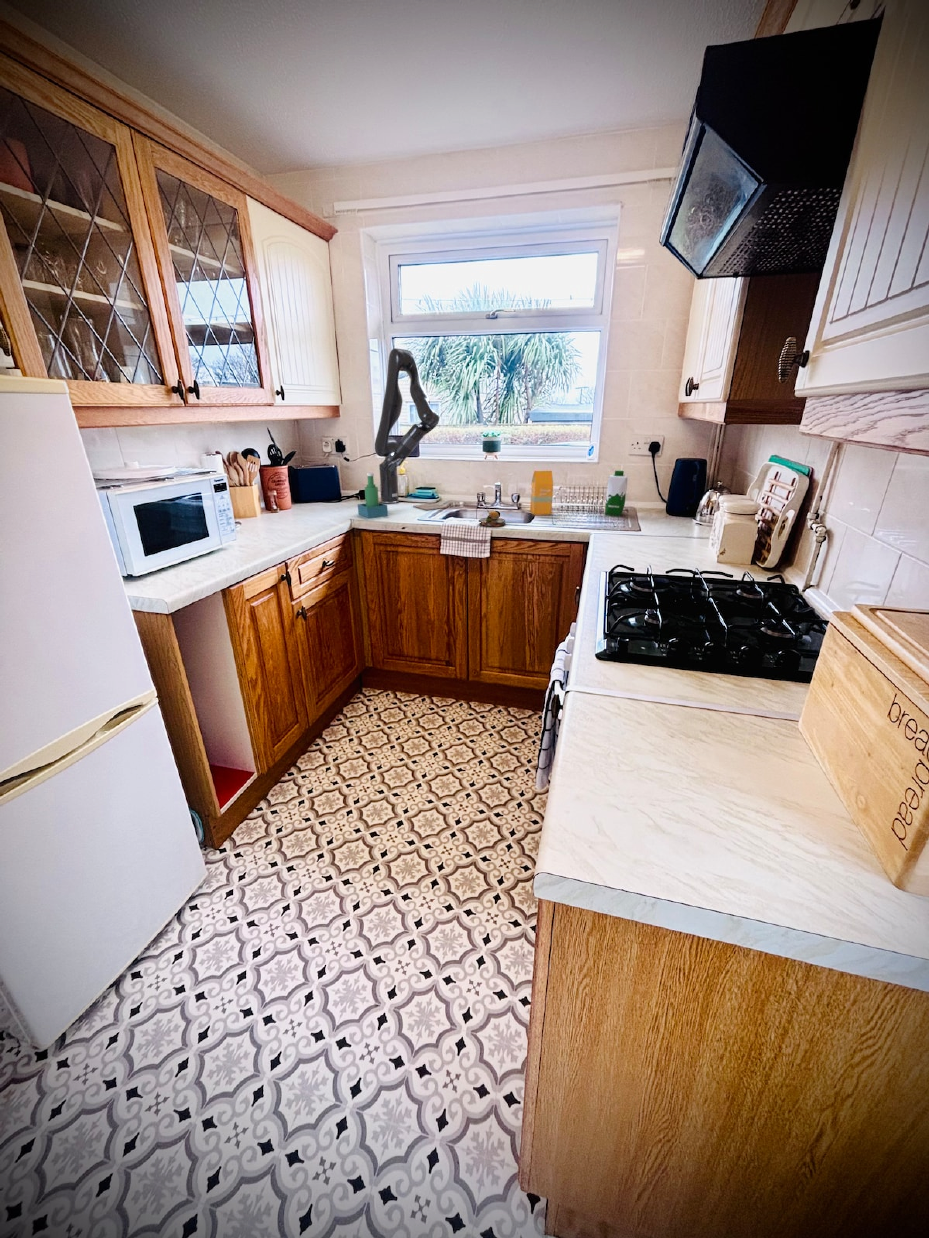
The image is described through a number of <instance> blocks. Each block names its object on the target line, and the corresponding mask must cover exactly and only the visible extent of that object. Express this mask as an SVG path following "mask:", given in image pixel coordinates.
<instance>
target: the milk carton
mask: <svg viewBox="0 0 929 1238" xmlns="http://www.w3.org/2000/svg"><path fill="white" fill-rule="evenodd" d="M624 473H625V471H624V470H615V471H614V474H610V475H609V476H608V480H607V488H606V497H605V516H616V517H621V516H622V515H623V512H624V508H625V504H626V496H627V490H628V478H629V477H628V475H626V474H624Z"/></svg>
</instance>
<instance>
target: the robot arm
mask: <svg viewBox="0 0 929 1238" xmlns="http://www.w3.org/2000/svg"><path fill="white" fill-rule="evenodd" d="M388 355H389V356H388V360H387V376H386V383H385V391H384V396H383V402H382V410H381V416H380V420H379V426H378V430H377V433H376V437H375V440H374V452H375V454H376V455H377V456H378V457H383V458H384V460H383V461H381V462H380V463H379V465H378V469H379V489H380V503H381V504H386V505H388V504H390V505H391V504H398V503H399V483H398V467H400V466H401V465H402V464H403V463H404V461H405V460H406V459H407V458H408V457H409V456H410V455H411V454H412V453H413V451H414V450H415V449H416V448H417V446H418V445H419V443H420V442H421V441H422V440H423V438H424V437H425V436H426V435H427V434H429V433H430V432H431V431H433V430H434V429H435V428H436V427H437V425H438V424H439V422H440V416H439V413H438V412H436V411H435V410H433V409H432V408H431V405H430V403H431V400H430V398H429V396H428V393H427V392H426V390H425V387H424V385H423V382H422V380H421V376H420V371H419V370H418V366H417V363H416V359H415V355H414V354H413V352H412V351H411V350H408V349H405V348H392V349H391V350H390V352H389V354H388ZM400 372H406V374H407V376H408V377H409V393H410V394H409V395H410V397H411V399H412V401H413V403H414V405H415V407H416V408H415V409H416V412H417V416H418V418H419V420H420V421H421V422H419V423H414V424H413V425H412V426H411V427H410V428H409V429H408V431H407V432H406V433H405V434H404V435H403V436H402V437H401V438H400V440H399V441H397V440H396V439H395V438H394V437H392V436H390V435H391V430H392V428H394V426H395V424H396V423H397V421H398V420H399V418H400V416H401V413H402V407H403V395H402V392H401V389H400V386H399V375H400Z"/></svg>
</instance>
